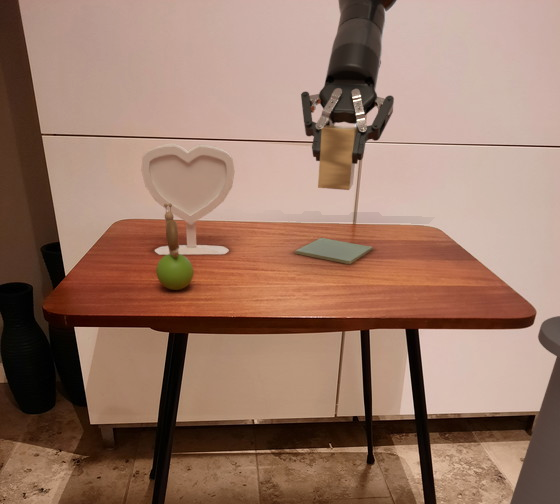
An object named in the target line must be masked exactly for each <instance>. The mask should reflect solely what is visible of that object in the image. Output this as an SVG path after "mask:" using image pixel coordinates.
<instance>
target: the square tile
mask: <svg viewBox="0 0 560 504" xmlns="http://www.w3.org/2000/svg"><path fill="white" fill-rule="evenodd" d="M372 251H373V246H369V245H364V244H360V243H359V244H357V243H353V242H348V241H342V240H336V239H330V238H325V237H320V238H318V239H316V240H313V241H312V242H310V243H308V244H305V245H303V246H302V247H300V248H298V249H296V250H295V251H294V254H295V255H300V256H305V257H310V258H314V259H315V258H316V259H319V260H325V261H330V262H334V263H340V264H346V265H352V264H353V263H354V262H356V261H357V260H359V259H361V258H362V257H364V256H365V255H367V254H368V253H370V252H372Z"/></svg>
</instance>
